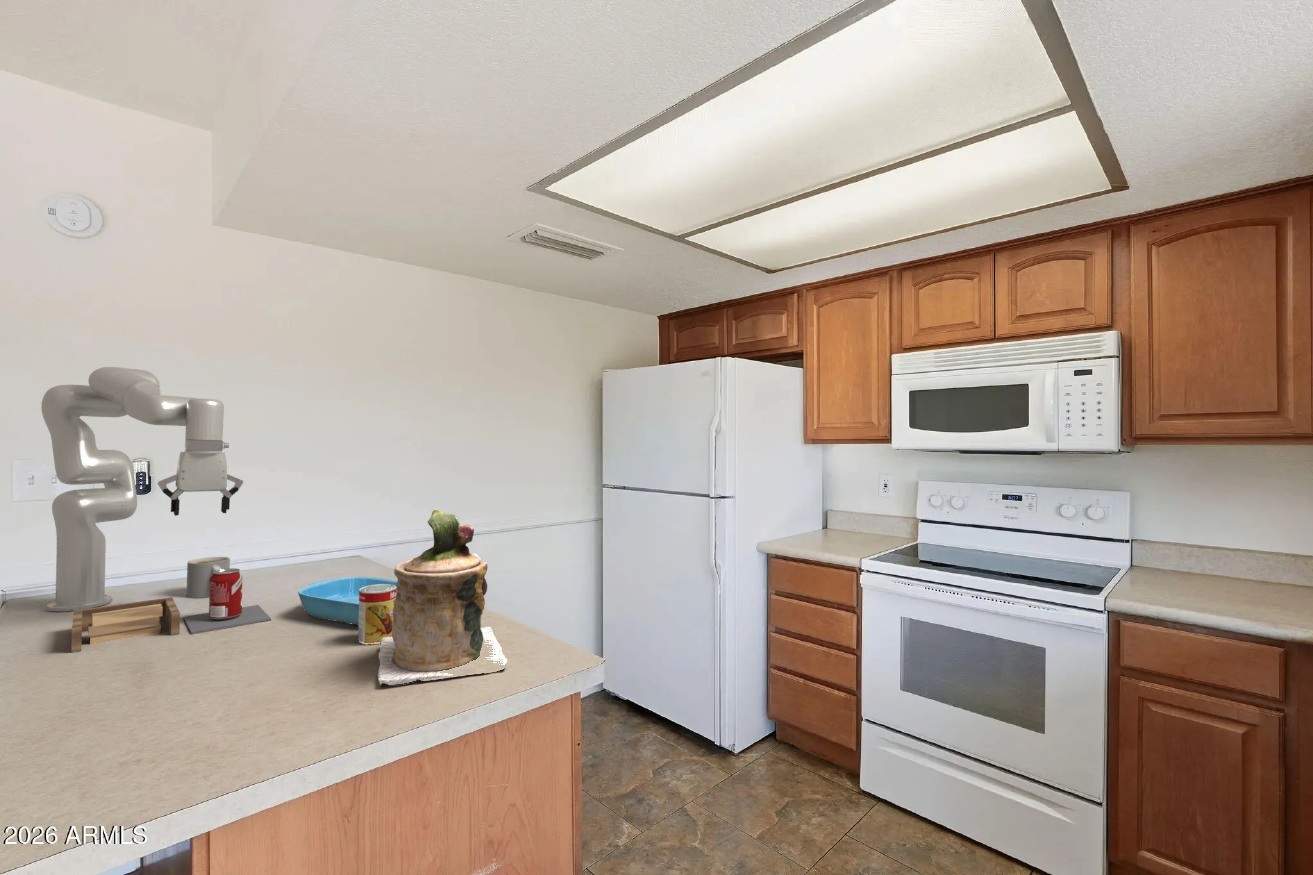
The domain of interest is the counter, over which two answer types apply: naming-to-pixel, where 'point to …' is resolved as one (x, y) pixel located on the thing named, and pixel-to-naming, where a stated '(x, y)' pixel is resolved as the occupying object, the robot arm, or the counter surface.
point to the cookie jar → (438, 609)
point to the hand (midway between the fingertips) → (200, 513)
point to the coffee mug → (203, 574)
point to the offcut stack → (125, 623)
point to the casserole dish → (337, 597)
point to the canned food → (376, 612)
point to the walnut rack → (85, 615)
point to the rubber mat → (205, 624)
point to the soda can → (225, 594)
